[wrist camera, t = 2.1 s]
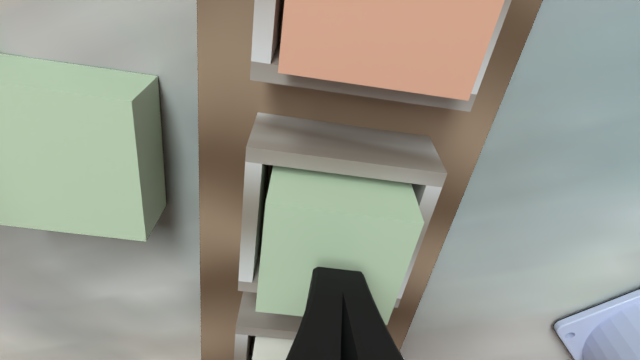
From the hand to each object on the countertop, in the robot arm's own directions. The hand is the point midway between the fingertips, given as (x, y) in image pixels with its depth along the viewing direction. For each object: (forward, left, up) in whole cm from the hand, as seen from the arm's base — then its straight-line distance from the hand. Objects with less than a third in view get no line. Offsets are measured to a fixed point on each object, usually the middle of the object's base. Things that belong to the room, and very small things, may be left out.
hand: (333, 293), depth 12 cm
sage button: (0, 0, -4) cm, 4 cm away
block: (+7, +7, -7) cm, 12 cm away
